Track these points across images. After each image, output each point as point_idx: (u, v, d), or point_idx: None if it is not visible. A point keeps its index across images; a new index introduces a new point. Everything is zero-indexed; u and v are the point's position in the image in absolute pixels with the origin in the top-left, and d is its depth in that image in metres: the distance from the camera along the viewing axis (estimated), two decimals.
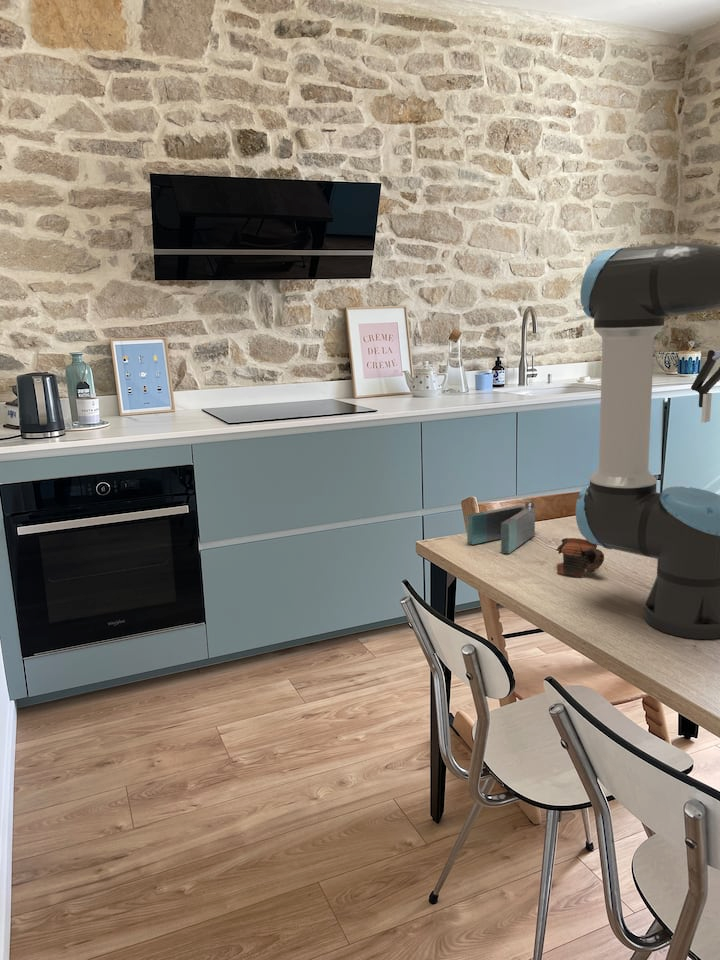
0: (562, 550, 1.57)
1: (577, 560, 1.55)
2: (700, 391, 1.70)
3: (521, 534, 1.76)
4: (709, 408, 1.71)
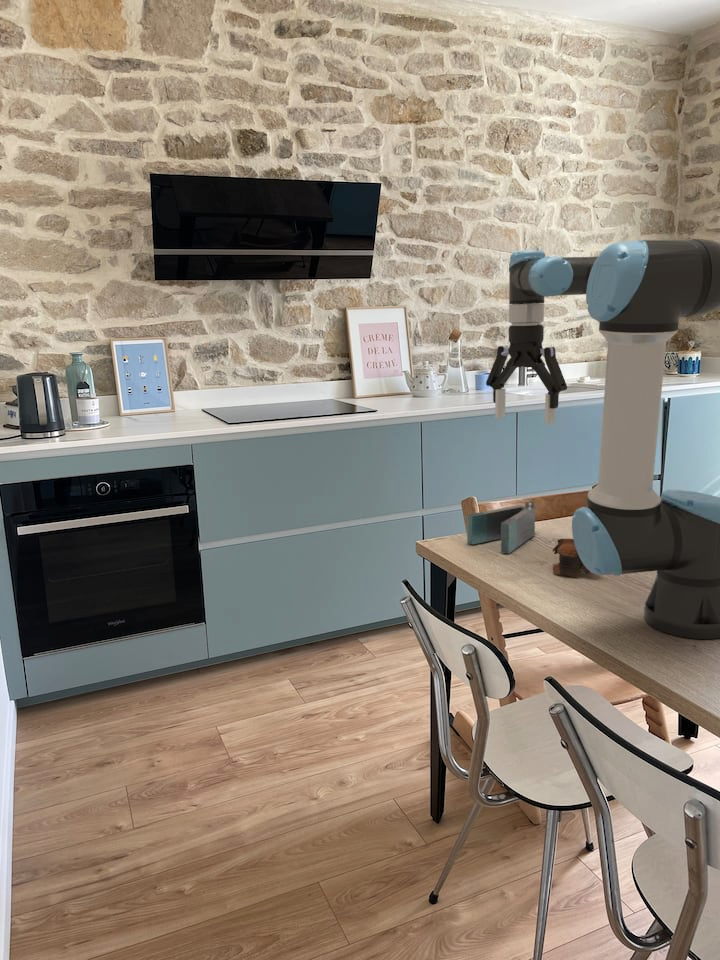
0: (558, 550, 1.57)
1: (573, 561, 1.55)
2: (493, 387, 1.71)
3: (521, 534, 1.76)
4: (503, 403, 1.72)
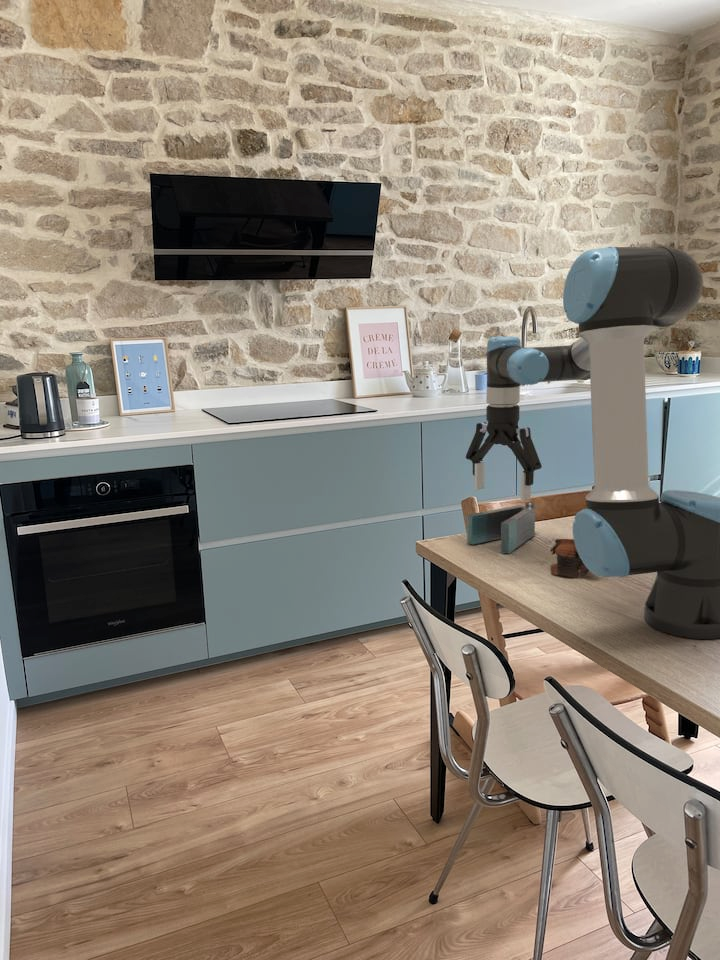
0: (556, 551, 1.57)
1: (571, 561, 1.55)
2: (472, 461, 1.80)
3: (521, 534, 1.76)
4: (482, 476, 1.81)
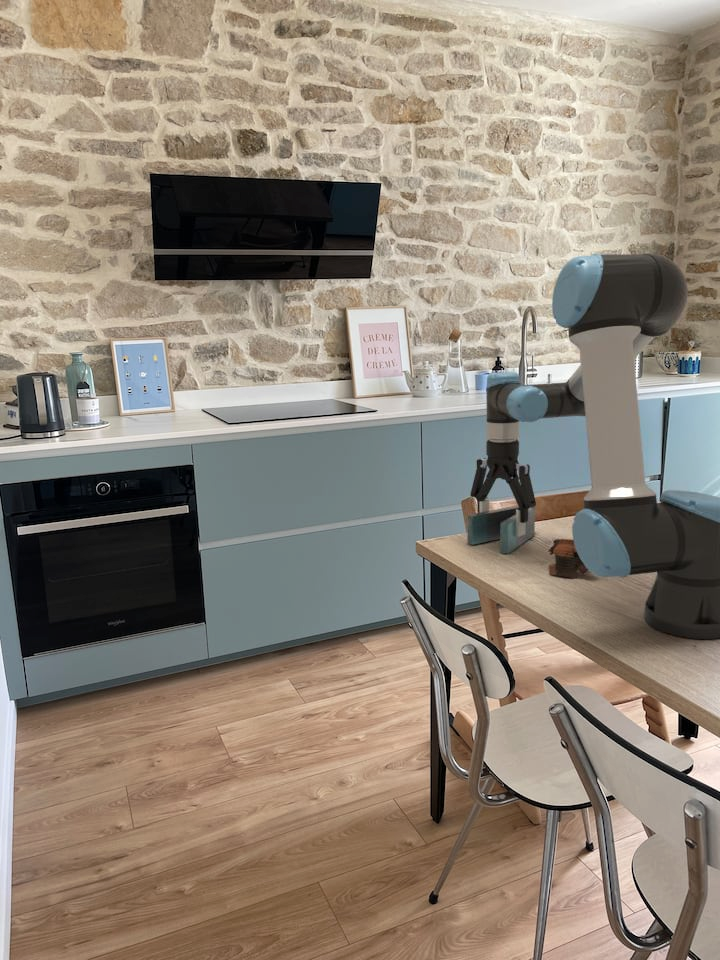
0: (554, 551, 1.57)
1: (569, 561, 1.54)
2: (477, 499, 1.80)
3: None
4: None
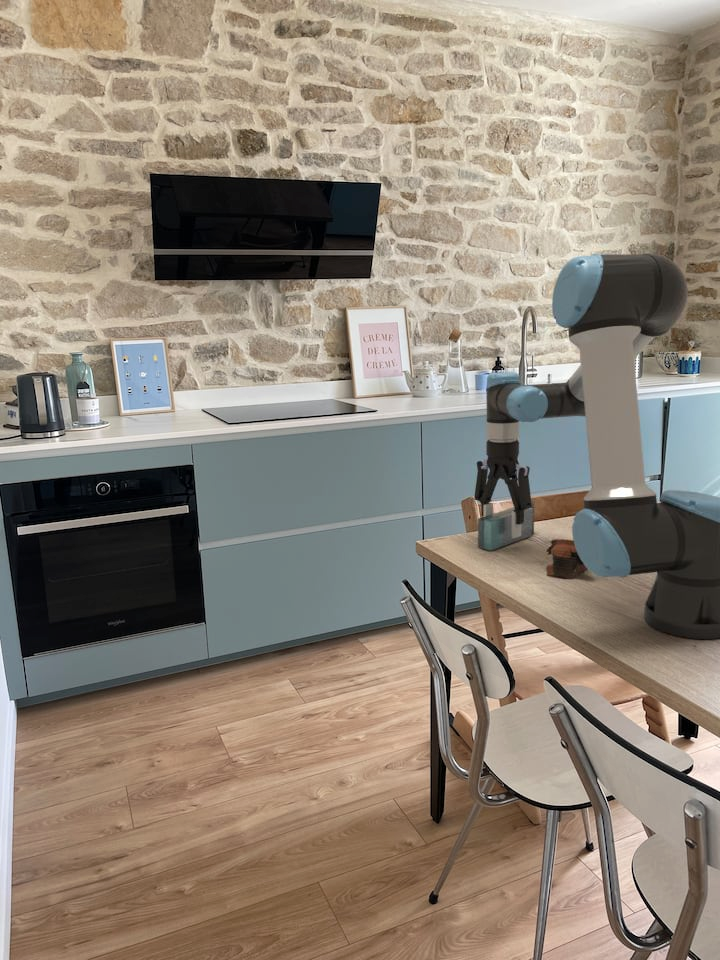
0: (552, 551, 1.57)
1: (567, 562, 1.54)
2: (481, 502, 1.80)
3: (511, 533, 1.78)
4: None
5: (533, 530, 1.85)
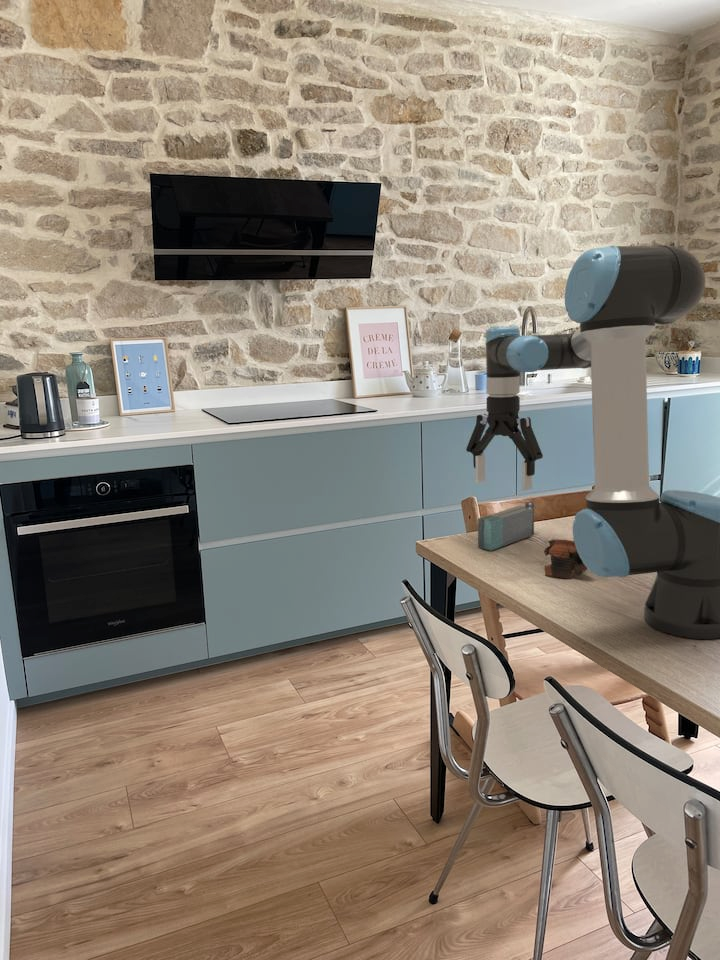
0: (550, 552, 1.57)
1: (565, 562, 1.54)
2: (473, 453, 1.79)
3: (511, 533, 1.78)
4: (483, 469, 1.80)
5: (533, 530, 1.85)
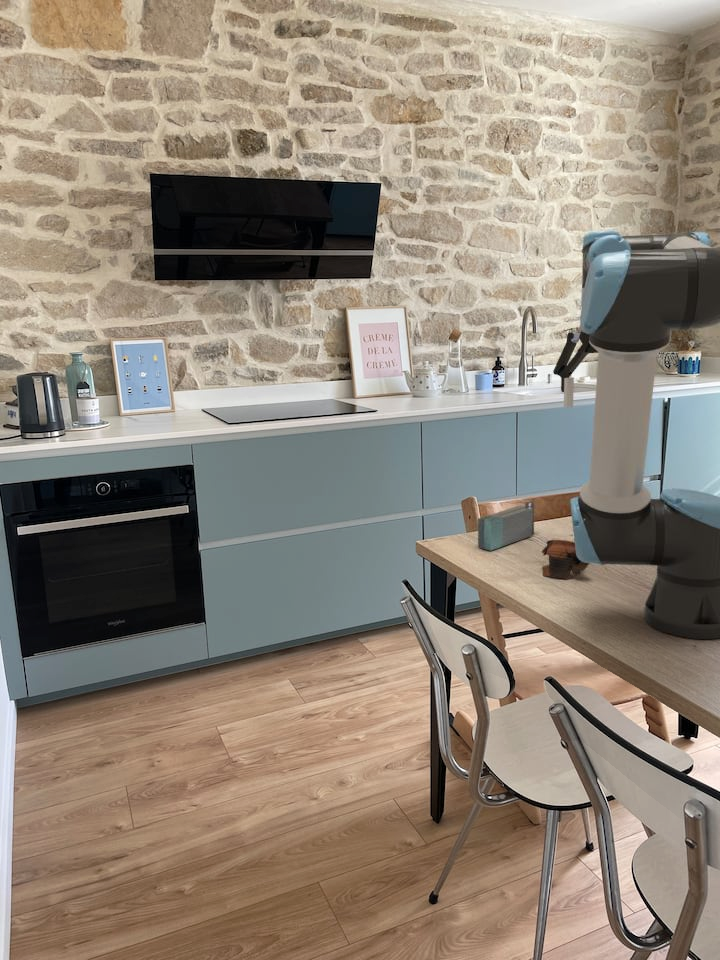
0: (548, 552, 1.57)
1: (563, 562, 1.54)
2: (561, 375, 1.64)
3: (511, 533, 1.78)
4: (572, 393, 1.66)
5: (533, 530, 1.85)
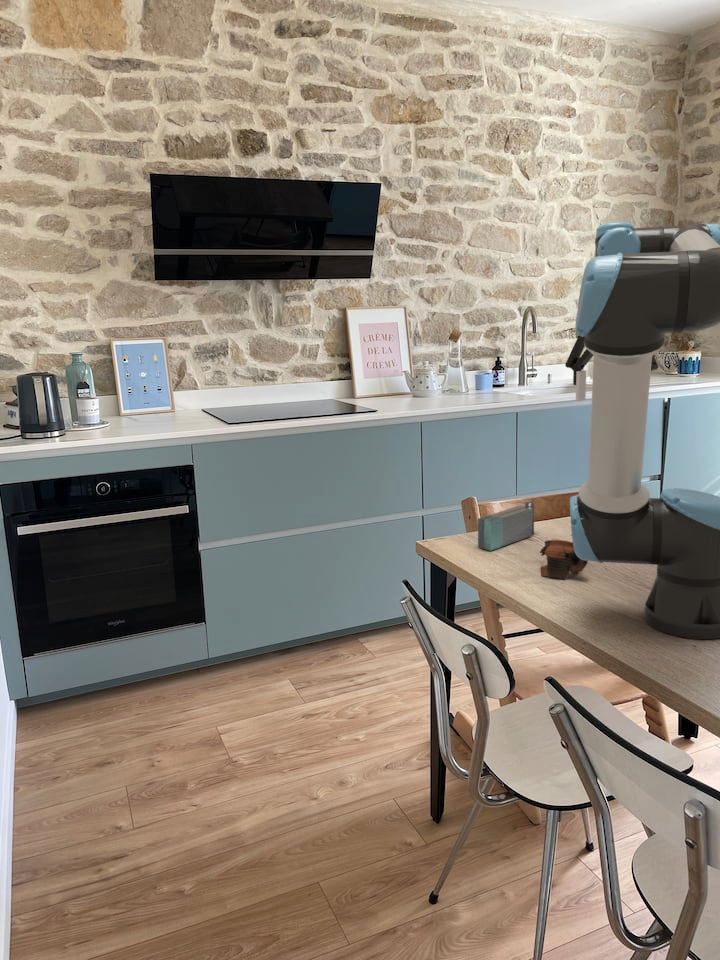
0: (546, 552, 1.56)
1: (561, 562, 1.54)
2: (574, 368, 1.63)
3: (511, 533, 1.78)
4: (584, 386, 1.65)
5: (533, 530, 1.85)
